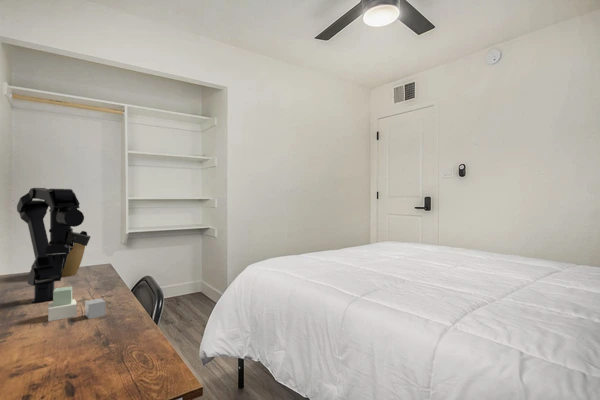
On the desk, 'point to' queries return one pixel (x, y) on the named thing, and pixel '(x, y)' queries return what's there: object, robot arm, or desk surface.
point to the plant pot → (73, 260)
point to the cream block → (62, 311)
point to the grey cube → (94, 308)
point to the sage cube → (62, 296)
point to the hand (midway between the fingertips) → (60, 271)
